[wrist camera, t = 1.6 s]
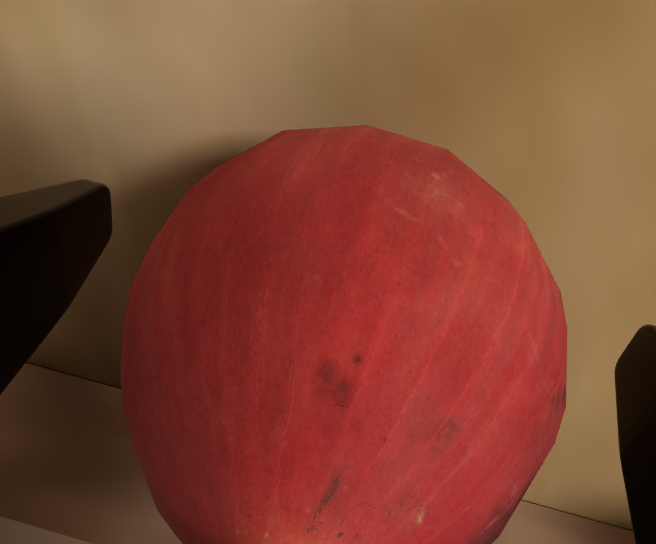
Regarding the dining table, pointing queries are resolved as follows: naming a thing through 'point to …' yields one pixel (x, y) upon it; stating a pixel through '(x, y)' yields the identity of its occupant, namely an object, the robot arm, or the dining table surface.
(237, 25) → the dining table surface
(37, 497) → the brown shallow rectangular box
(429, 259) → the onion
